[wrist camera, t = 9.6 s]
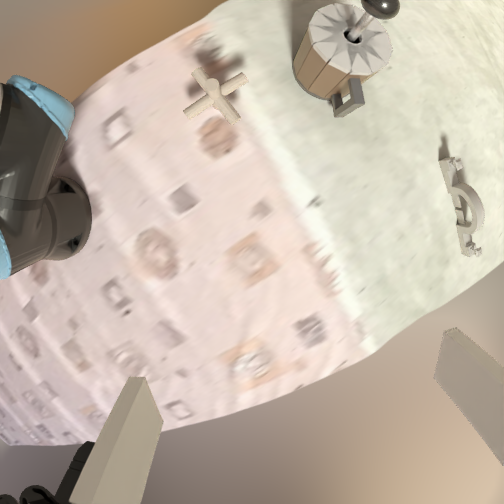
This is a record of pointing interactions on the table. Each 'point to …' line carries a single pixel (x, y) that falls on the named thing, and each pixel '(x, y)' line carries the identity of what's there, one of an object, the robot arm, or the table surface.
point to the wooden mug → (340, 56)
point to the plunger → (373, 15)
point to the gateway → (473, 201)
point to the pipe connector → (216, 95)
